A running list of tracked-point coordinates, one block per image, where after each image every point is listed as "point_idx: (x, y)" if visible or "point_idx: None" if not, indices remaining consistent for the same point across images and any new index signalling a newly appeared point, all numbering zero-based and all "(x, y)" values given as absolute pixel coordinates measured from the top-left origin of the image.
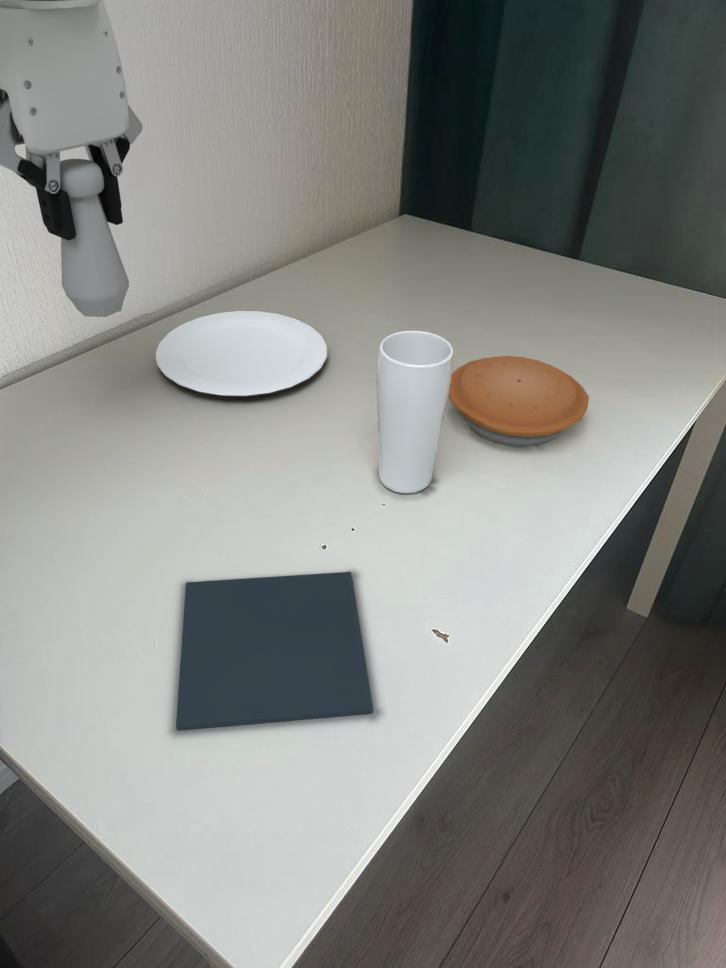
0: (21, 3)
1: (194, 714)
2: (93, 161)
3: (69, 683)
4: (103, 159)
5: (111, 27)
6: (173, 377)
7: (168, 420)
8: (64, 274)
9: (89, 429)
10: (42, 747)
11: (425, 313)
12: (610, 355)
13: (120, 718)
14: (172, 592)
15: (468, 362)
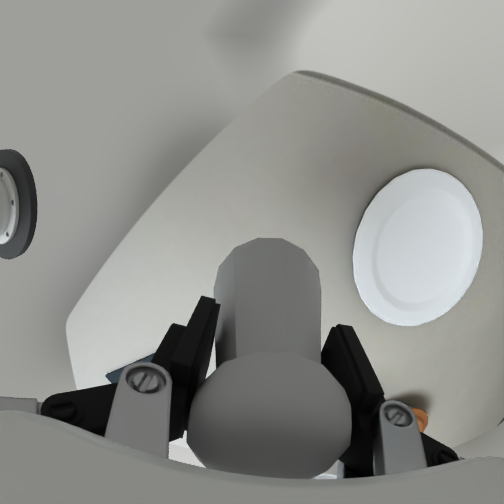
0: None
1: (112, 380)
2: (373, 435)
3: (91, 327)
4: (372, 459)
5: None
6: (363, 221)
7: (312, 243)
8: (219, 279)
9: (267, 186)
10: (72, 333)
11: (496, 333)
12: (451, 425)
13: (96, 353)
14: (154, 344)
15: (419, 410)
